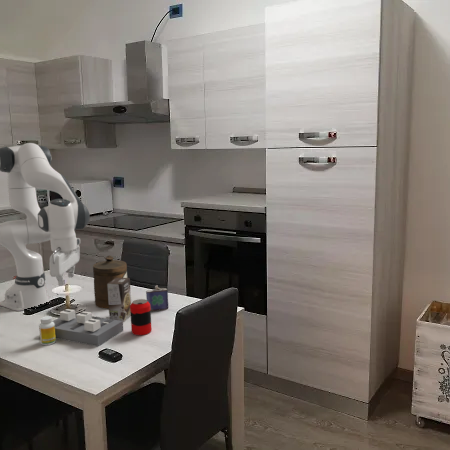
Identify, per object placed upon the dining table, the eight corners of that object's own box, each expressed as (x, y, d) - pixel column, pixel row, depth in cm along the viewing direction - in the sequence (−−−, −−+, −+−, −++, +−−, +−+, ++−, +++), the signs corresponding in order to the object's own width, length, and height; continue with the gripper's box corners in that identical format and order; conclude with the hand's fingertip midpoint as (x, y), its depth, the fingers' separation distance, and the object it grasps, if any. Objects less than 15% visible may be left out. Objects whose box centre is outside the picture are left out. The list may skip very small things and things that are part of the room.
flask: (147, 311, 208) (146, 287, 206) (146, 309, 210) (145, 285, 209) (168, 309, 210) (167, 285, 208) (168, 307, 213) (166, 283, 211)
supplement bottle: (38, 342, 179) (35, 318, 177) (52, 338, 182) (49, 314, 181) (44, 347, 175) (42, 321, 173) (58, 342, 179) (56, 317, 177)
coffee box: (124, 322, 196) (121, 284, 193) (109, 321, 197) (106, 283, 195) (132, 314, 205) (130, 277, 202) (118, 313, 206) (116, 277, 203)
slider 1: (60, 319, 189) (59, 311, 188) (67, 316, 192) (66, 308, 192) (68, 321, 187) (67, 312, 186) (75, 317, 190) (74, 309, 190)
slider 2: (76, 322, 185) (76, 314, 185) (83, 318, 189) (83, 310, 188) (85, 323, 184) (84, 315, 183) (92, 320, 187) (91, 311, 187)
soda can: (131, 336, 182) (129, 305, 180) (131, 328, 190) (129, 299, 187) (152, 334, 184) (150, 304, 182) (151, 326, 191) (149, 297, 189)
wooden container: (132, 305, 217) (130, 257, 213) (99, 311, 210) (95, 261, 206) (123, 295, 230) (121, 250, 226) (92, 301, 223) (88, 254, 219)
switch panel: (31, 333, 187) (30, 323, 186) (59, 320, 201) (58, 310, 200) (98, 346, 174) (97, 335, 173) (123, 330, 188) (122, 320, 187)
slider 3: (84, 330, 178) (84, 321, 177) (91, 326, 181) (91, 317, 181) (93, 331, 176) (92, 323, 175) (100, 327, 180) (100, 319, 179)
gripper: (61, 251, 166) (64, 290, 169) (81, 238, 186) (84, 272, 189) (43, 251, 166) (46, 290, 169) (65, 237, 186) (68, 272, 189)
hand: (66, 280), depth 179 cm, fingers open, 8 cm apart
